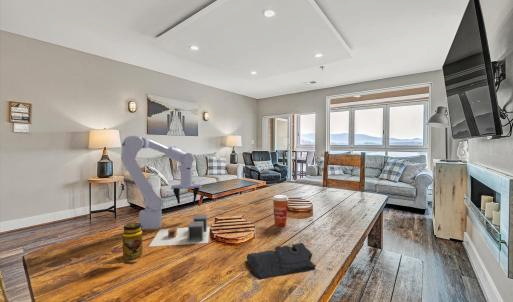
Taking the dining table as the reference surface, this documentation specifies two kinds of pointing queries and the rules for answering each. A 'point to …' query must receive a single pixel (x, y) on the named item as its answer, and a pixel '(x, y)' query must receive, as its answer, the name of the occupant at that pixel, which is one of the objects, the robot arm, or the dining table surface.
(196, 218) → the right cover
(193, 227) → the left cover
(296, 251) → the folded black cloth
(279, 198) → the paper cup
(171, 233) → the letter cube
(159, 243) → the board
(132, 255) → the condiment
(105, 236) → the dining table surface
